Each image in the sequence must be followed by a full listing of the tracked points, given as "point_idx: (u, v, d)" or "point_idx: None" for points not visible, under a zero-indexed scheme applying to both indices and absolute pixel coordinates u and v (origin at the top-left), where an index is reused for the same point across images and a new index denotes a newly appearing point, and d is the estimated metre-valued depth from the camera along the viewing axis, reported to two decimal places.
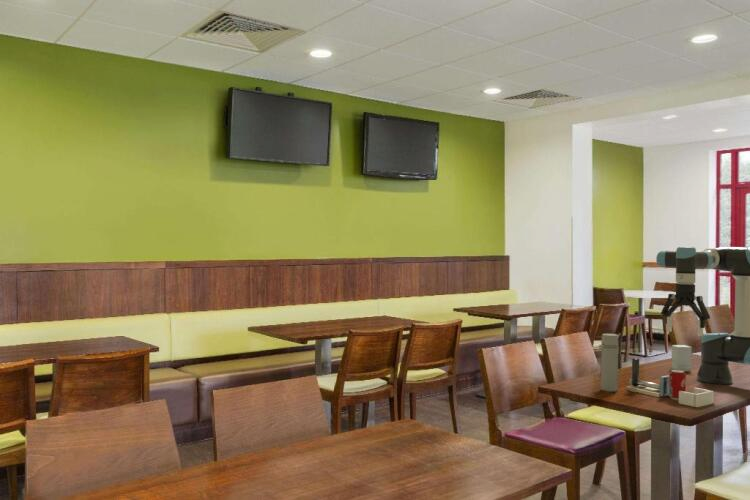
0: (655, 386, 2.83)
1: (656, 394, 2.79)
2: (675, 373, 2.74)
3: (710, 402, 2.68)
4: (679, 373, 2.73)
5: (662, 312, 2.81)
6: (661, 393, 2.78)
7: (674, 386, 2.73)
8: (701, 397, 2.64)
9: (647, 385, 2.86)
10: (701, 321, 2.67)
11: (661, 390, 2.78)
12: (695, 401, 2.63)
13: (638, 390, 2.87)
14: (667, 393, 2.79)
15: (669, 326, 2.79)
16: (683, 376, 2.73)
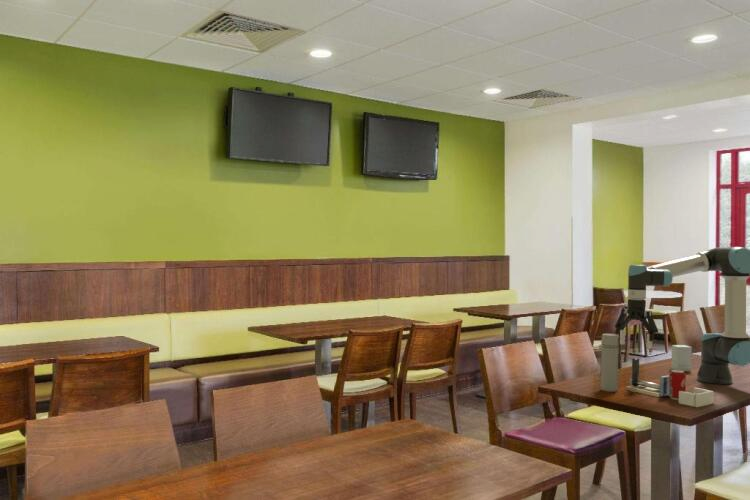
0: (655, 386, 2.83)
1: (656, 394, 2.79)
2: (675, 373, 2.74)
3: (710, 402, 2.68)
4: (679, 373, 2.73)
5: (616, 325, 2.99)
6: (661, 393, 2.78)
7: (674, 386, 2.73)
8: (701, 397, 2.64)
9: (647, 385, 2.86)
10: (650, 335, 2.85)
11: (661, 390, 2.78)
12: (695, 401, 2.63)
13: (638, 390, 2.87)
14: (667, 393, 2.79)
15: (622, 339, 2.97)
16: (683, 376, 2.73)
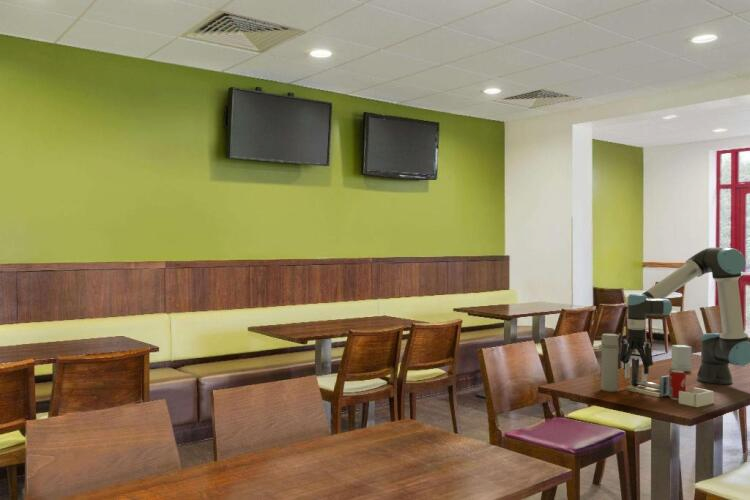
0: (655, 386, 2.83)
1: (656, 394, 2.79)
2: (675, 373, 2.74)
3: (710, 402, 2.68)
4: (679, 373, 2.73)
5: (620, 359, 2.97)
6: (661, 393, 2.78)
7: (674, 386, 2.73)
8: (701, 397, 2.64)
9: (647, 385, 2.86)
10: (644, 367, 2.88)
11: (661, 390, 2.78)
12: (695, 401, 2.63)
13: (638, 390, 2.87)
14: (667, 393, 2.79)
15: (627, 372, 2.95)
16: (683, 376, 2.73)
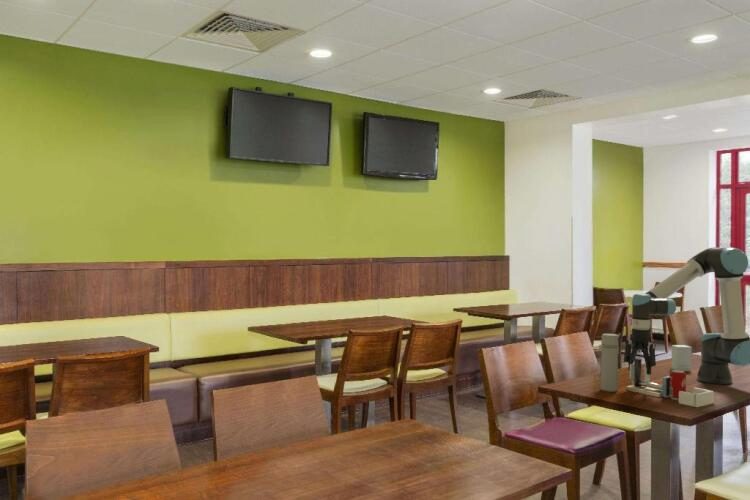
0: (658, 387, 2.82)
1: (656, 394, 2.79)
2: (675, 373, 2.74)
3: (710, 402, 2.68)
4: (679, 373, 2.73)
5: (625, 359, 2.95)
6: (664, 394, 2.77)
7: (674, 386, 2.73)
8: (701, 397, 2.64)
9: (649, 386, 2.85)
10: (647, 368, 2.86)
11: (664, 390, 2.77)
12: (695, 401, 2.63)
13: (638, 390, 2.87)
14: None
15: (632, 373, 2.93)
16: (683, 376, 2.73)
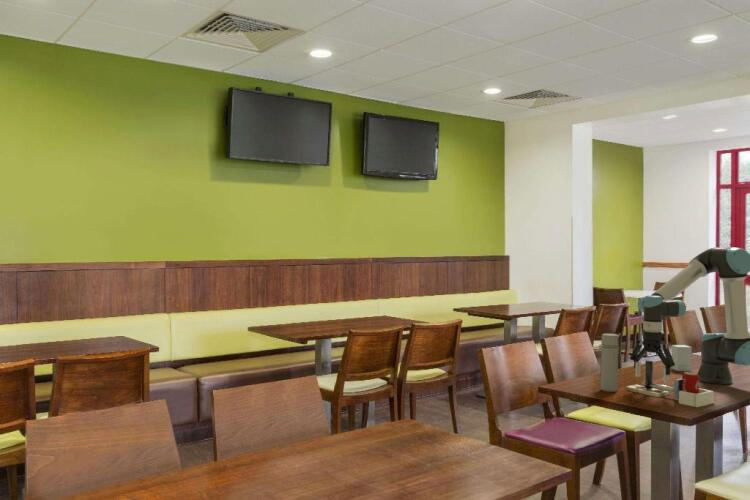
0: (669, 389, 2.77)
1: (656, 394, 2.79)
2: (689, 375, 2.69)
3: (710, 402, 2.68)
4: (693, 375, 2.69)
5: (631, 357, 2.92)
6: (676, 396, 2.72)
7: (688, 389, 2.69)
8: (701, 397, 2.64)
9: (661, 388, 2.81)
10: (666, 368, 2.79)
11: (676, 393, 2.72)
12: (695, 401, 2.63)
13: (638, 390, 2.87)
14: None
15: (637, 371, 2.91)
16: (697, 378, 2.68)
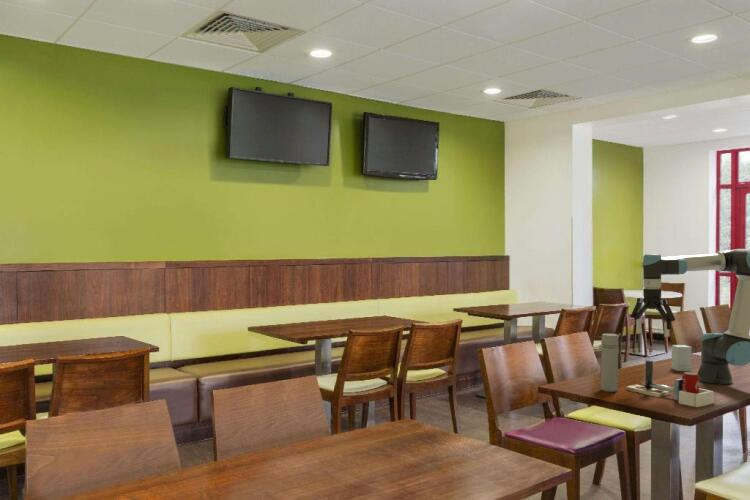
0: (669, 389, 2.77)
1: (656, 394, 2.79)
2: (689, 375, 2.69)
3: (710, 402, 2.68)
4: (693, 375, 2.69)
5: (632, 315, 3.01)
6: (676, 396, 2.72)
7: (688, 389, 2.69)
8: (701, 397, 2.64)
9: (661, 388, 2.81)
10: (667, 323, 2.88)
11: (676, 393, 2.72)
12: (695, 401, 2.63)
13: (638, 390, 2.87)
14: None
15: (638, 328, 2.99)
16: (697, 378, 2.68)
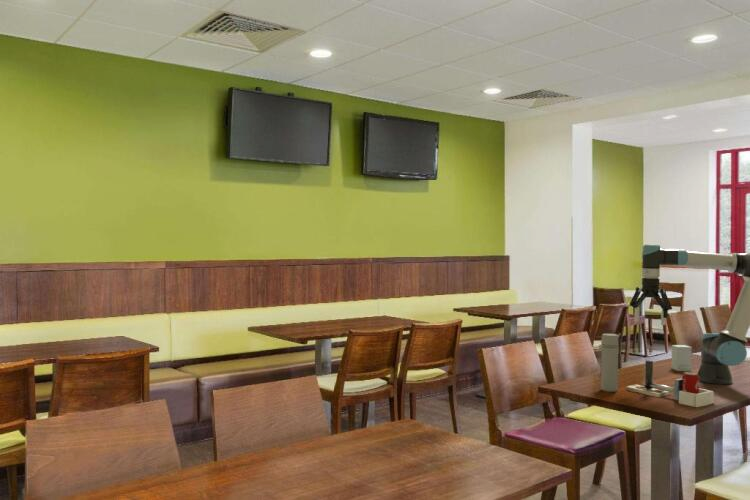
0: (669, 389, 2.77)
1: (656, 394, 2.79)
2: (689, 375, 2.69)
3: (710, 402, 2.68)
4: (693, 375, 2.69)
5: (630, 304, 3.10)
6: (676, 396, 2.72)
7: (688, 389, 2.69)
8: (701, 397, 2.64)
9: (661, 388, 2.81)
10: (664, 311, 2.96)
11: (676, 393, 2.72)
12: (695, 401, 2.63)
13: (638, 390, 2.87)
14: None
15: (636, 316, 3.08)
16: (697, 378, 2.68)
